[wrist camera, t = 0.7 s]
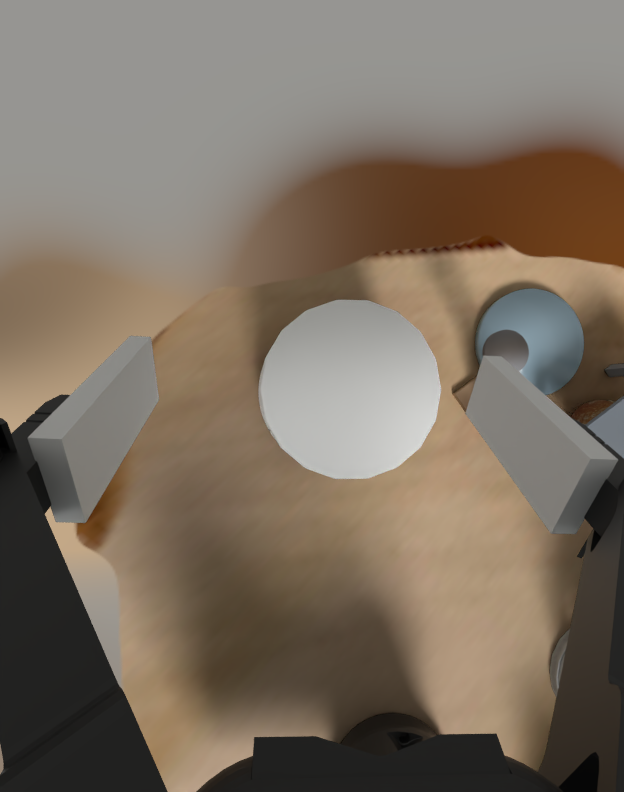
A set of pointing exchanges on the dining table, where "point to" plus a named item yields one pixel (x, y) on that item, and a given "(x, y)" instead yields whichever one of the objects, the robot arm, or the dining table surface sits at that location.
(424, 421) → the milk container
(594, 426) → the cover frame
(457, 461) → the dining table surface
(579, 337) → the plate
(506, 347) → the balance
